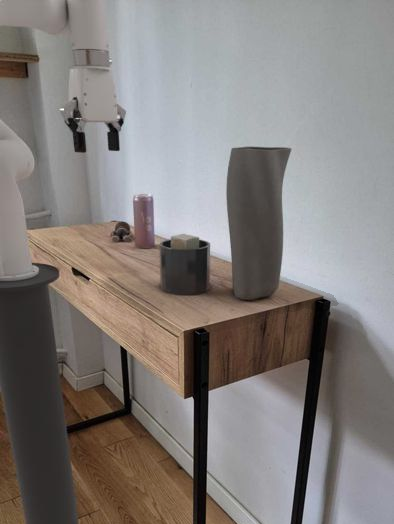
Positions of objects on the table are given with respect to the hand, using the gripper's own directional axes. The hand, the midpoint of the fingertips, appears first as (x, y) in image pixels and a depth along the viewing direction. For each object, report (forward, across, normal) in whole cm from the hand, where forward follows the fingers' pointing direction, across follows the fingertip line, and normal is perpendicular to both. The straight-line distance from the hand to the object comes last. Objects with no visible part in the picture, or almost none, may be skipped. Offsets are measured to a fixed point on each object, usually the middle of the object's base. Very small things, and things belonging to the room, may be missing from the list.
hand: (97, 151), depth 107 cm
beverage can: (+28, -28, -14) cm, 42 cm away
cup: (+28, -5, +21) cm, 36 cm away
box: (+28, -5, +21) cm, 35 cm away
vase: (+28, -10, +36) cm, 47 cm away
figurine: (+28, -31, -27) cm, 50 cm away
